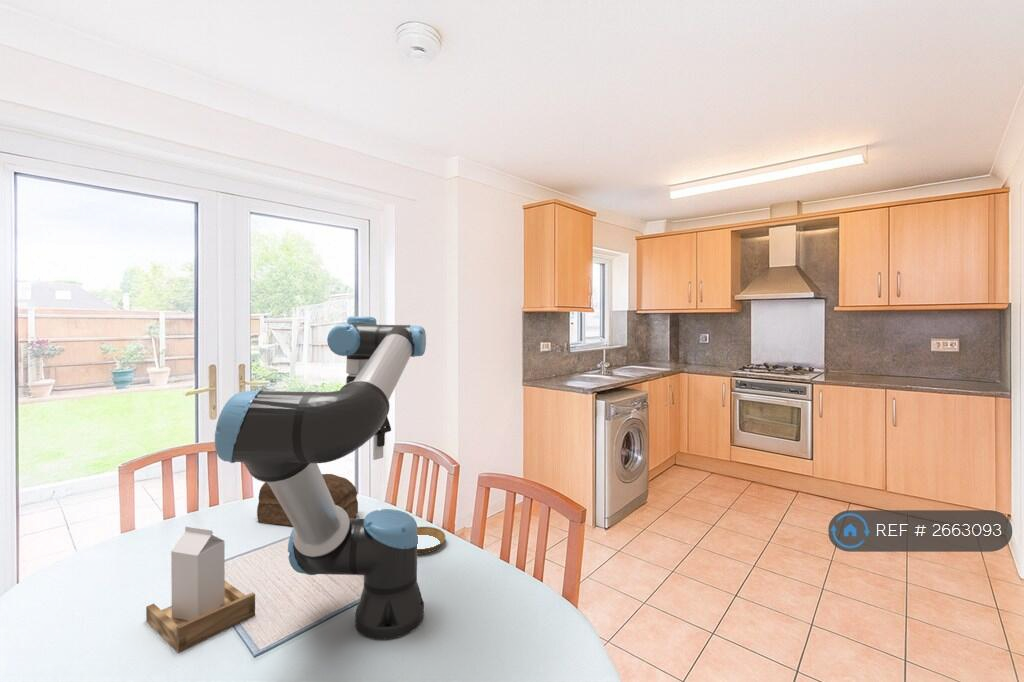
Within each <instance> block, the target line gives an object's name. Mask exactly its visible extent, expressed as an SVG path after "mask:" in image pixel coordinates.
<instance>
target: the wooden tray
mask: <svg viewBox="0 0 1024 682" xmlns="http://www.w3.org/2000/svg"><path fill="white" fill-rule="evenodd" d="M145 608H146V609H145V611H146V612H145V613H146V615H145V617H146V618H145V619H146V620H145V621H146V622H147V623H148V624H149V625H150V626H151V627H152V628H153V629H154V630H155V631H156V632H157V633H158V634H159V635H160V636H161V637H162V638H163V639H164V640H165V641H166V642H167V643H168V644H170V646H171V647H172V648H173V649H174V650H175V651H176V652H177V653H178V654H179V653H181V652H183V651H185V650H187V649H190V648H192V647H194V646H196V645H198V644H200V643H202V642H203V641H207V640H208V639H210V638H213V637H215V636H216V635H218V634H220V633H222V632H224V631H227V630H228V629H230V628H232V627H235V626H236V625H239V624H241V623H242V622H244V621H246V620H249V619H250V618H253V617H256V593H254V592H250V593H248V594H245V593H243V592H242V591H241V590H239V589H238V588H236V587H235V586H233V584H230V583H229V582H228V581H226V580H225V604H224V605H222V606H221V607H219V608H217V609H215V610H212V611H210V612H208V613H206V614H203V615H201V616H199V617H197V618H194V619H192V620H190V621H186V620H181V619H176V618H172V605H171V606H168V607H166V608H163V609H160V607H159V606H157V605H156V604H155V603H152V604H149V605H147V606H146V607H145Z"/></svg>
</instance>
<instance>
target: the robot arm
mask: <svg viewBox="0 0 1024 682" xmlns="http://www.w3.org/2000/svg"><path fill="white" fill-rule="evenodd" d="M326 339H327V340H326V341H327V342H326V343H327V346H328V348H329V349H330V351H331V352H333V354H336V355H337V356H339V357H340V356H341V357H346V367H345V368H346V369H345V370H346V371H345V372H346V374H347V376H346V381H345V382H346V384H344V385H343V386H342V387H341V388H340V389H339V390H335V391H282V390H281V391H277V390H275V391H274V390H273V391H271V390H269V391H267V390H265V391H264V390H263V389H257V390H243V391H240V392H237V393H235V394H233V395H232V396H231V397H230V398H229V399H228V400H227V401H226V403H225V404H224V406H223V407H222V410H221V411H220V414H219V416H218V419H217V423H216V425H215V427H216V428H215V431H214V432H215V433H214V448H215V452H216V455H217V457H218V458H219V459H220V460H222V461H223V462H228V463H230V464H234V463H242V464H244V465H245V468H246V469H247V471H248V473H249V474H250V475H251V476H252V477H253V478H254V479H255V480H257V481H259V482H262V483H265V482H267V483H268V484H269V486H270V488H271V489H272V491H273V493H274V494H275V496H276V498H277V500H278V501H279V503H280V505H281V507H282V508H283V510H284V512H285V513H286V515H287V517H288V519H289V520H290V522H291V524H292V525H293V526H292V525H291V526H292V529H291V532H290V535H289V537H288V543H287V553H289V554H288V563H289V564H290V566H291V568H292V569H293V570H294V571H295V572H296V573H298V574H304V575H308V576H316V575H333V576H334V575H338V576H339V575H341V576H342V575H344V576H346V575H348V576H363V589H362V592H361V595H360V599H359V603H358V605H357V607H356V608H355V609H356V610H355V614H354V626H355V628H356V630H357V632H358V633H359V634H360V635H362V636H364V637H366V638H369V639H372V640H391V639H396V638H400V637H403V636H406V635H408V634H410V633H412V632H413V631H414V630H416V629H417V628H418V627H419V626H420V625H421V623H422V622H423V621H424V616H425V603H424V600H423V597H422V592H421V589H420V586H419V583H418V554H417V544H418V536H417V527H418V524H417V521H416V520H415V518H414V517H413V516H411V514H409V513H407V512H405V511H403V510H399V509H392V508H382V509H380V510H379V509H376V510H373V511H370V512H369V513H367V514H366V515H365V517H364V518H355V517H354V518H349V516H348V514H347V513H346V511H345V510H344V509H343V508H341V507H339V506H337V505H335V504H334V501H333V499H332V497H331V494H330V492H329V490H328V488H327V485H326V483H325V481H324V478H323V476H322V474H323V473H322V472H321V470H320V469H321V468H320V467H319V464H323V463H324V464H327V463H329V462H330V463H331V462H334V461H337V460H339V459H342V458H344V457H346V456H348V455H350V454H352V453H354V451H357V450H358V449H359V448H360V447H362V446H363V445H365V444H366V443H367V442H368V441H370V440H371V439H372V438H373V440H372V441H373V442H372V447H373V448H372V460H373V461H377V460H379V459H382V458H384V446H385V440H386V433H389V432H391V431H392V428H391V423H390V422H389V418H388V415H389V411H390V401H389V400H390V398H391V396H392V395H393V392H394V391H395V389H396V386H397V384H398V382H399V381H400V378H401V376H402V375H403V373H404V371H405V368H406V366H407V364H408V362H409V360H410V358H411V357H412V358H415V357H422V356H423V355H425V351H426V348H427V347H426V345H427V335H426V330H425V328H424V327H423V326H421V325H411V324H378V323H377V319H376V318H375V317H373V316H353V315H352V316H348V317H347V319H346V323H341V324H337V325H335V326H334V327H332V328H331V330H330V331H329V332H328V334H327V338H326Z"/></svg>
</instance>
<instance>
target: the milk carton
mask: <svg viewBox="0 0 1024 682" xmlns="http://www.w3.org/2000/svg"><path fill="white" fill-rule="evenodd" d="M184 528H185V529H184V530H185V531H184V532H183V534H182V535H181V537H180V538H179V539H178V540H177V542H176V543H175V545H174V547H173V548H172V549H171V550H170V551H171V554H170V555H171V556H170V557H171V558H170V559H171V565H170V566H171V569H170V570H171V606H172V618H176V619H181V620H186V621H190V620H192V619H194V618H197V617H199V616H201V615H203V614H206V613H208V612H210V611H212V610H215V609H217V608H219V607H221V606H222V605H224V604H225V581H226V580H225V577H226V576H225V575H226V574H225V572H226V571H225V566H226V565H225V556H226V555H225V553H226V552H225V547H226V544H225V540H223V539H221V538H219V537H218V536H215V535H213V534H214V531H213V530H212V529H208V528H201V527H193V526H188V525H187V526H186V525H185V527H184Z"/></svg>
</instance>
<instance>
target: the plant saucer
mask: <svg viewBox="0 0 1024 682" xmlns="http://www.w3.org/2000/svg"><path fill="white" fill-rule="evenodd" d="M417 535H429V536H433V537H435V538H437V539H438V540H439V541H440V544H438V545H436V546H434V547H430V548H425V549H417V553H423V554H426V553H425V552H428V553H430V552H429V551H431V552H433V551H435V550H436V549H438V548H439V547H440V546H441V545H442V544H443V542H444V541H445V539H446V533H445V532H444V531H443V530H441V529H439V528H437V527H432V526H417ZM434 549H435V550H434ZM432 550H433V551H432Z"/></svg>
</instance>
